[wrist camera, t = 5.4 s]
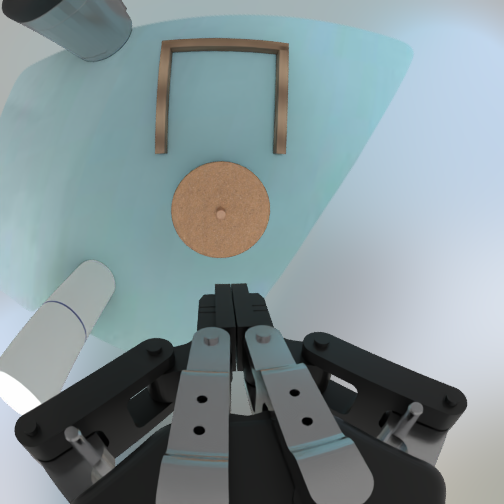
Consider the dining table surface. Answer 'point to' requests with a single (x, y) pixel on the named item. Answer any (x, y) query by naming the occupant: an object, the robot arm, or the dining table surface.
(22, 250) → the dining table surface
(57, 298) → the cylindrical container
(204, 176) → the lidded jar
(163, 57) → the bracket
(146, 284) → the dining table surface
